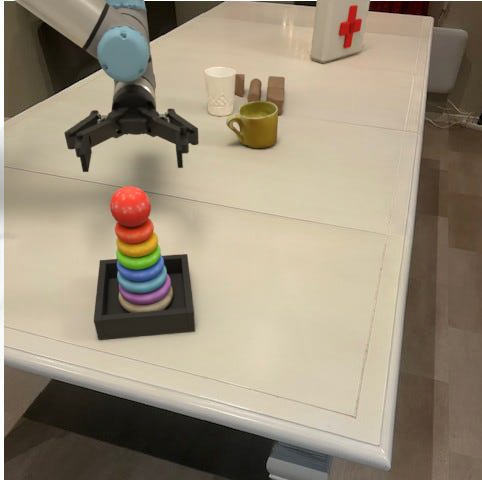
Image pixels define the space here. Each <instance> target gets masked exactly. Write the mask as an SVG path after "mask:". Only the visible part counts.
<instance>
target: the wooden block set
mask: <svg viewBox="0 0 482 480" xmlns="http://www.w3.org/2000/svg"><path fill="white" fill-rule="evenodd" d="M245 77H246V75H245V74H244V73H236V78H235V96H238V97H241V98H244V94H245ZM285 81H286V78H285V77H284V76H278V75H277V76H276V75H275V76H273V75H269V76H268V78H267V88H266V89H267V91H266V101H267V102H271V103H274V104H275V105H276V106H277V108H278V115H282V114H283V108H284V99H285V85H286V84H285V83H286V82H285ZM261 91H262V81H261V79H259V78H257V77H256V78H253V79H251V80H250V83H249V89H248V94H247V103H249V102H255V101H261Z"/></svg>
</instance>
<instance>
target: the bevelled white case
mask: <svg viewBox="0 0 482 480" xmlns="http://www.w3.org/2000/svg"><path fill="white" fill-rule="evenodd" d="M370 3H371V0H316V4H315V14H314V20H313V21H314V22H313V32H312V38H311V39H312V40H311V41H312V42H311V49H310V57H311V59H312V61H314V62H317V63H319V64H325V63H329V62H333V61H335V60H336V61H337V60H340V59H342V58H346V57H349V56H353V55H356V54H359V53H360V52H361V51H362V49H363V44H364V39H365V33H366V26H367V20H368V15H369V10H370Z"/></svg>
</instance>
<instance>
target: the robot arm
mask: <svg viewBox="0 0 482 480" xmlns="http://www.w3.org/2000/svg"><path fill="white" fill-rule="evenodd" d="M14 1H15V2H16V3H17V4H19V5H21V7H23V8H25V9H26V10H27V11H29V12H30V13H32V15H34V16H35V17H37V18H39V19H40V20H41V21H42V22H44V23H46V24H47V25H49V26H50V27H51V28H53V29H54V30H56V31H57V32H59V33H60V34H61V35H63V36H64V37H66V38H67V39H69V40H70V41H71V42H73V43H74V44H75V45H76V46H78V47H80V48H81V49H82V50H84V52H85V51H86V52H87V53H88V54H89V55H91V56H92V57H93V58H95V60H97V61H98V63H99V64H100V67H101V69H102V70H103V72H104V73H105V74H106V75H107V76H108V77H109V78H111V79H112V80H113V84H114V86H113V94H112V102H111V103H112V104H111V109H110V112H108V114H107V115H106V114H105V115H104V114H103V115H102V114H101V113H99V110H97V109H93V110H91V111H90V113H89V115H87V116H86V117H84V118H83V119H82V120H80V121H79V122H77V123H75V124H74V125H73V126H71V127H70V128H68V129H67V130H66V131H64V132H63V133H64V137H65V142H66V146H67V149H68V150H74V151H75V155H76V157H77V158H79V159H80V164H81V170H82V173H89V172H90V171H89V170H90V165H91V158H92V155H93V151H92V148H94V147H95V146H98V145H99V144H102V143H104V142H106V141H108V140H110V139H118V138H121V137H123V136H124V135H126V136H127V135H133V136H141V135H148V136H150V137H152V138H155V137H158V138H160V139H163V140H166V141H167V142H169V143H172V144H174V145H175V154H176V162H177V164H176V165H177V168H178V169H183V168H184V160H183V159H184V158H183V155H184V154H189V153H190V146H189V145H190V144H191V145H192V146H198V145H199V143H200V142H199V127H197V126H196V125H194V124H193V123H191V122H190V121H188V120H187V119H185V118H183V117H182V116H181V115H179V114H178V113H177V112H176V110H175V108H167V109H166V111H165V113H160V112H159V111H157V96H156V88H157V84H156V75H155V73H154V66H153V58H152V57H153V56H152V54H151V53H152V52H151V44H150V43H151V42H150V34H149V33H150V32H149V24H148V23H149V22H148V15H147V11H148V10H147V7H146V3H145V0H14Z"/></svg>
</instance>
